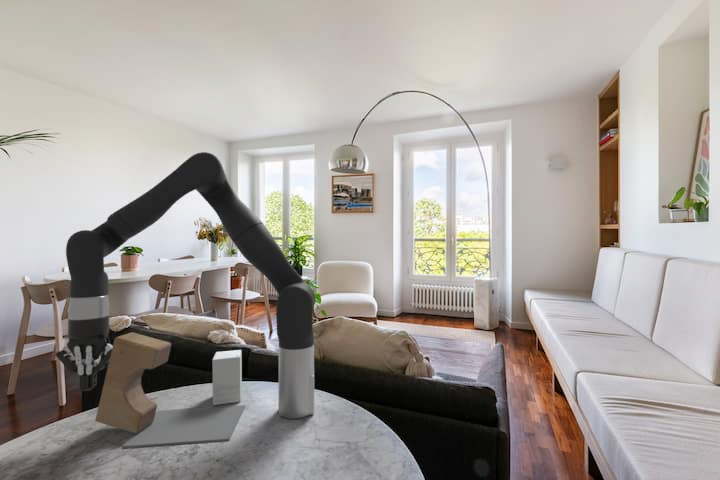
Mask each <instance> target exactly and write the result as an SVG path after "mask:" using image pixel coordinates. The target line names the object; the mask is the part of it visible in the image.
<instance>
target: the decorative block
mask: <svg viewBox="0 0 720 480" xmlns="http://www.w3.org/2000/svg"><path fill="white" fill-rule="evenodd" d="M112 346H113V348H112V352H111V356H110V361H109V364H108V365H107V370H106V374H105V377H104V381H103V382H104V383H103V386H102V390H101V395H100V399H99V402H98V403H99V404H98V408H97V411H96V415H95V418H94V419H95V420H94V421H95V423H96V422H97V423H100V424H104V425H106V426H109V427H113V428H116V429H120V430H122V431H127V432H129V433H132V434H137V433H139V432H140V431H142V430H143V429H144V428H146V427H147V426H149V425H150V424H151V423H153V421H154V417H155V413H156V412H157V409H158V404H157V403H156V402H154V401H152V400H151V399H149V397H148V396H147V395H146V394H145V391H144V389H143V387H142V377H143V374H144V372H145V370H154V369H155V368H157V367H159V366H162V365H163V364H166V363H167V362H168V361H169V356H170V354H171V350H172V349H171V348H172V343H171V342H169V341H166V340H162V339H160V338H159V339H158V338H154V337H152V336H151V337H150V336H147V335H144V334H141V333H137V332H129V333H125V334H122V335H120V336H117V337H114V341H113V343H112Z"/></svg>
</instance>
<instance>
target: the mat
mask: <svg viewBox="0 0 720 480" xmlns="http://www.w3.org/2000/svg"><path fill="white" fill-rule="evenodd" d="M245 406H246V405H245V404H244V405H231V406H230V405H225V406H213V407H211V406H210V407H195V408H193V407H192V408H178V409H177V408H176V409H163V410H162V409H161V410H156V413H155V417H154V421H153V423H151V424H150V425H149V426H147V427H146V428H144V429H143V430H142V431H140V432H139V433H137V434H135V433H133V435H132V436H131V437H130V438H129V439H128V440H127V441H126V442H125V443H124V444H123V445H122V449H127V448H128V449H129V448H130V449H131V448H141V447H142V448H143V447H144V448H145V447H158V446H169V445H170V446H171V445H185V444H196V443H197V444H199V443H211V442H212V443H213V442H226V441H230V440H231V437H232V436H233V434H234V431H235V430H236V427H237V425H238V423H239V420H240V418H241V416H242V414H243V412H244V410H245Z"/></svg>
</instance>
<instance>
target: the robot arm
mask: <svg viewBox="0 0 720 480" xmlns="http://www.w3.org/2000/svg"><path fill="white" fill-rule="evenodd" d="M195 190H196V191H197V192H198V193H199V194H200V196H201V197H202V198H203V199H204V200H205V201H206V202H207V203H208V204H209V206H210V207H211V208H212V209H213V210H214V212H215V214H217V216H218V218H219V221H220V222H221V225H223V227H224V229H225V231H226V234H227V235H228V237H229V238H230V240H231V241H232V243H233V244H234V245H235V247H236V248H237V250H238V251H239V253H240V254H241V255H242V256H243V257H244V258H245V260H247V261H248V263H250V264H251V266H253V267H254V268H255V269H257V270H258V271H259V273H261V274H262V275H263V276H264V277H265V278H266V279H267V280H268V281H269V282H270V284H271V286H273V288H274V289H275V291H276V293H277V294H278V295H277V300H276V307H275V308H276V314H275V315H276V316H275V317H276V335H277V339H278V414H279V416H280V417H283V418H285V419H291V420H294V419H302V418H305V417H308V416H313V415H315V333H314V328H313V322H314V321H313V317H314V316H313V313H314V312H313V310H314V307H315V305H316V295H315V292H314V290H313V289H312V288H311V287H310V285H309V283H307V282H306V281H305V280H304V279H303V277H301V275H299V273H298V271H296V269H295V268H294V267H293V266H292V264H291V263H290V262H289V260H288V259H287V257H286V255H285V254H284V252H283V251H282V249H281V248H280V245H279V244H278V243H277V241H276V239H274V236H272V233H271V232H270V231H269V230H268V228H267V227H266V225H265V224H264V222H263V221H262V220H261V219H260V218H259V217H258V216H257V214H256V213H254V211H253V210H251V209H250V208H249V207H248V206H247V205H246V204H245V203H244V202H243V201H242V200H241V199H240V198H239V196H238V195H237V194H236V192H235V190H234V188H233V187H232V185H231V183H230V181H229V179H228V178H227V176H226V173H225V170H224V167H223V163H222V162H221V160H220V159H219V158H218V156H217V155H215V154H213V153H210V152H206V151H205V152H202V151H201V152H196V153H195V154H192V155H191V156H190V157H189V158H187V159H186V160H185V161H183V162H182V163H181V164H180V165H179V166H177V168H175V170H173V171H172V172H171V173H170V174H168V175H167V176H166V177H165V178H164V179H162V180H160V181H159V182H158V183H157V184H156V185H154V186H153V187H152V188H150V189H149V190H148V191H146V192H145V193H143V194H142V195H140V196H139V197H137V198H136V199H134V200H132V201H131V202H128V203H127V204H126V205H124V206H122V207H121V208H119V209H117V210H115V211H114V212H113V213H112V214H111V213H110V215H109V216H108V217H107V220H106V221H104V222H103V223H102V224H100V225H99V226H97V227H95V228H94V229H92V230H89V229H85V230H79V231H76V232H74V233H73V234H71V236H70V237H69V238H68V240H67V242H66V247H65V256H66V257H65V258H66V261H67V262H66V263H67V267H68V268H67V269H68V272H69V276H70V285H69V287H70V289H69V297H70V298H69V303H68V310H67V311H68V313H67V315H68V316H67V317H68V318H67V319H68V320H67V327H68V328H67V337H68V338H69V339H68V342H67V343H66V346H65V348H63V349H62V350H59V351H57V352H56V353H55V356H56V358H57V359H58V360H59V361H60V362H61V363H62V365H64V367H65V368H66V369H67V370H68V371H69V372H70V373H71V374H74V373H76V374H77V375H79V388H80V389H81V392H85V391H86V392H87V391H89V392H90V391H91V390H93V389H94V388H95V387H96V386H97V384H98V372H99V371H102V370H103V369H105V368H106V367H108V365H109V361H110V356H111V352H112V348H113V344H111V340H110V338H109V333H110V300H109V277H108V273H107V272H106V271H105V263H104V261H105V259H104V258H106V257H107V256H109V255H110V254H112V253H114V252H115V251H116V250H117V249H119V248H120V247H121V246H122V245H124V244H125V243H126V242H128V240H129V239H132V238H134V237H135V236H137V235H138V234H139V233H141V232H143V231H145V230H146V229H148V228H149V227H151V226H152V225H154V224H155V223H156V222H158V221H159V220H160V219H161V218H162V217H163V216H164V215H165V214H166V213H167V212H168V211H169V210H170V209H171V208H172V207H173V205H174V204H176V203H177V202H178V201H180V200H181V198H183V197H184V196H185V195H187V194H189V193H190V192H194V191H195ZM103 353H104V356H103V357H102V355H103Z"/></svg>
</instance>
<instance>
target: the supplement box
mask: <svg viewBox="0 0 720 480" xmlns="http://www.w3.org/2000/svg"><path fill="white" fill-rule="evenodd" d="M242 354H243V353H242V349H234V350H225V351H224V350H223V351H216V352H215V353H214V356H213V358H211V359H212V360H211V361H212V406H219V405H225V404H232V403H233V404H234V403H240V402H241V398H242V392H243V385H242V383H243V381H242V379H243V378H242V377H243V375H242V373H243V372H242V369H243V368H242V366H243V365H242V364H243V363H242V361H243V360H242Z"/></svg>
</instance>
